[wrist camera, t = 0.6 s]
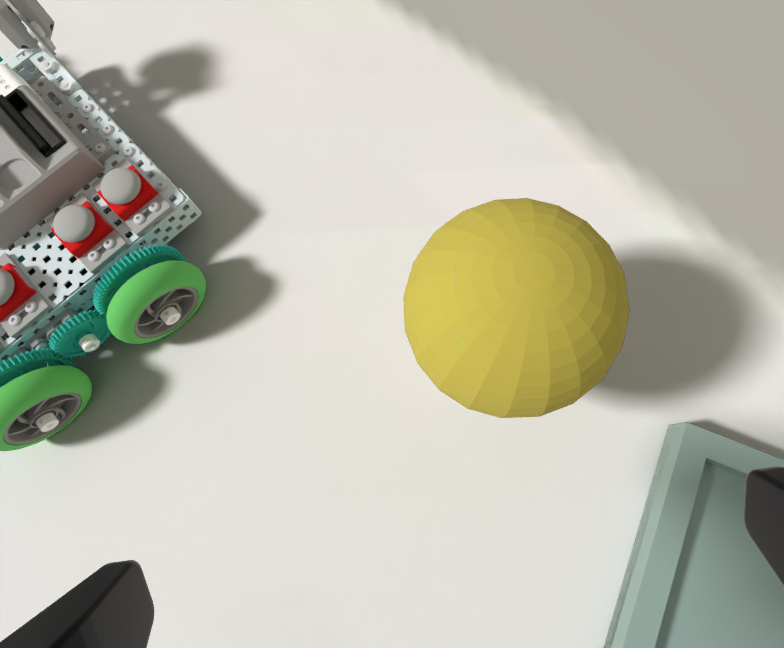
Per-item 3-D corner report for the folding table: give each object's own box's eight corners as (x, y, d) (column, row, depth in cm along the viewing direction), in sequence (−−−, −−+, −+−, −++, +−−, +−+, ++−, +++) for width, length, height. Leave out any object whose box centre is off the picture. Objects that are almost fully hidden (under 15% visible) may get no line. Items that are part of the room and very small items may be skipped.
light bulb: (378, 323, 23) (352, 226, 14) (509, 252, 24) (572, 111, 14) (456, 461, 22) (489, 460, 12) (594, 382, 22) (730, 319, 13)
